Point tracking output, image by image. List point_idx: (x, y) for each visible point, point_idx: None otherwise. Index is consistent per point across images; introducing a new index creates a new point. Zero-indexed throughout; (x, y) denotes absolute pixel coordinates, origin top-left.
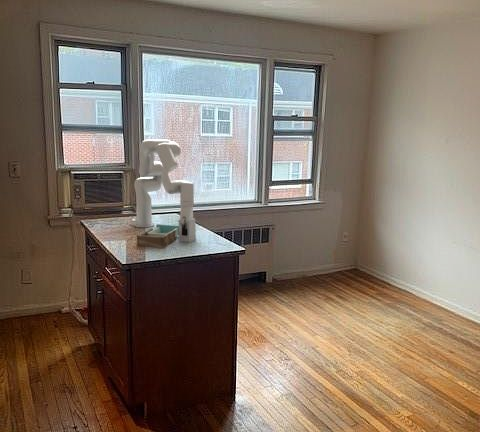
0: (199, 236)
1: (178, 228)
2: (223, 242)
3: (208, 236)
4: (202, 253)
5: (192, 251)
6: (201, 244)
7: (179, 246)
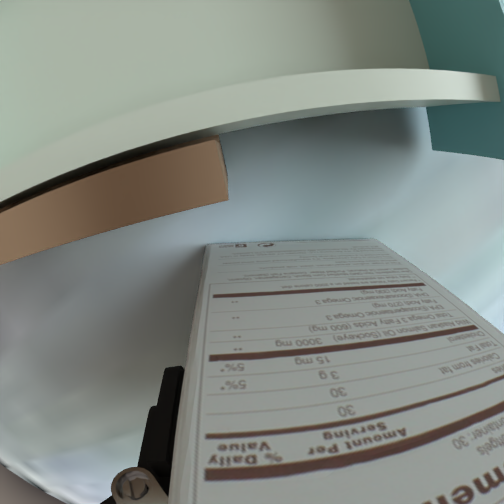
0: (477, 312)
1: (493, 107)
2: None
3: None
4: (64, 493)
5: (43, 459)
6: None
7: (42, 362)
